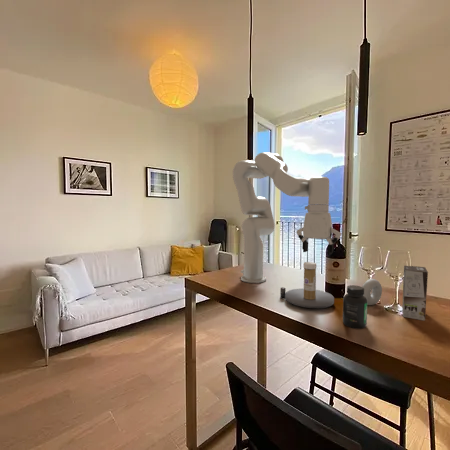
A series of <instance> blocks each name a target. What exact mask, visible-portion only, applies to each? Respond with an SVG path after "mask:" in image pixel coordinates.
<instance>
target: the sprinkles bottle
mask: <svg viewBox="0 0 450 450" xmlns="http://www.w3.org/2000/svg"><path fill="white" fill-rule="evenodd" d="M316 270H317V263H316V262H315V261H314V262H313V261H306V262H303V289H304V296H303V297H304V298H305V299H309V300H313V299H315V298H316V290H317V272H316Z"/></svg>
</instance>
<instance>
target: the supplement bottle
mask: <svg viewBox="0 0 450 450" xmlns="http://www.w3.org/2000/svg"><path fill="white" fill-rule="evenodd" d="M363 295H364V288H363V287H362V286H360V285H351V284H350V285H347V287H346V294H344V296H343V297H342V298H343V300H342V306H343V307H342V323H343V325H345V326H346V327H347V328H352V329H355V330H362V329H364V328H366V327H367V323H368V322H367V320H368V305H367V298H366V297H365V296H363Z"/></svg>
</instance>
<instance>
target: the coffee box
mask: <svg viewBox="0 0 450 450" xmlns="http://www.w3.org/2000/svg"><path fill="white" fill-rule="evenodd" d="M428 274H429V272H428V270H427V269H426V267H425V266H415V265H411V266H410V265H403V279H402V280H403V282H402V283H403V285H402V305H401V306H402V317H403V318H409V319H413V320H419V321H426V311H427V310H426V309H427V294H428V293H427V292H428V290H427V289H428V276H429V275H428Z"/></svg>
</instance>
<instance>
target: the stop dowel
mask: <svg viewBox="0 0 450 450" xmlns="http://www.w3.org/2000/svg"><path fill="white" fill-rule="evenodd" d="M279 290H280V293H279V294H280V296H279V298H280V299H282V300H286V299H285V294H286V292H287V291H286V288H285V287H280V289H279Z"/></svg>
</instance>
